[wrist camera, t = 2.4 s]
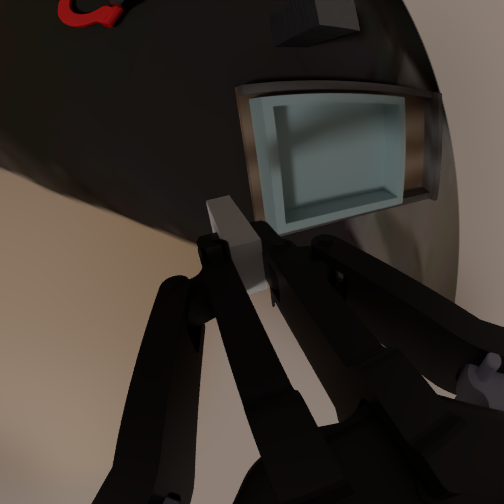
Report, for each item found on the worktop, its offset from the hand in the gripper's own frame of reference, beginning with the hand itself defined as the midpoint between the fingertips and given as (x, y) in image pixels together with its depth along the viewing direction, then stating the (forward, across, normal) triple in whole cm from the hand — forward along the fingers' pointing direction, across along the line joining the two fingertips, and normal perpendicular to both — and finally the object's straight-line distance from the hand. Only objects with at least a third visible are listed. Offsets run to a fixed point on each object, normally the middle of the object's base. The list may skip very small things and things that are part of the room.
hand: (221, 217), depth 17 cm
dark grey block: (+13, +12, +15) cm, 23 cm away
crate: (+12, +15, 0) cm, 19 cm away
